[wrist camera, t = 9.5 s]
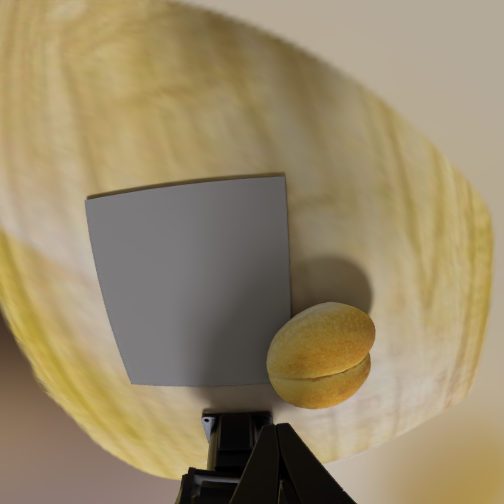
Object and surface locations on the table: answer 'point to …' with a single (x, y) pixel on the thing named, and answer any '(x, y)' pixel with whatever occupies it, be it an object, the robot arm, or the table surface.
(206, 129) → the table surface
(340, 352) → the bread roll
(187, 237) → the serving mat
